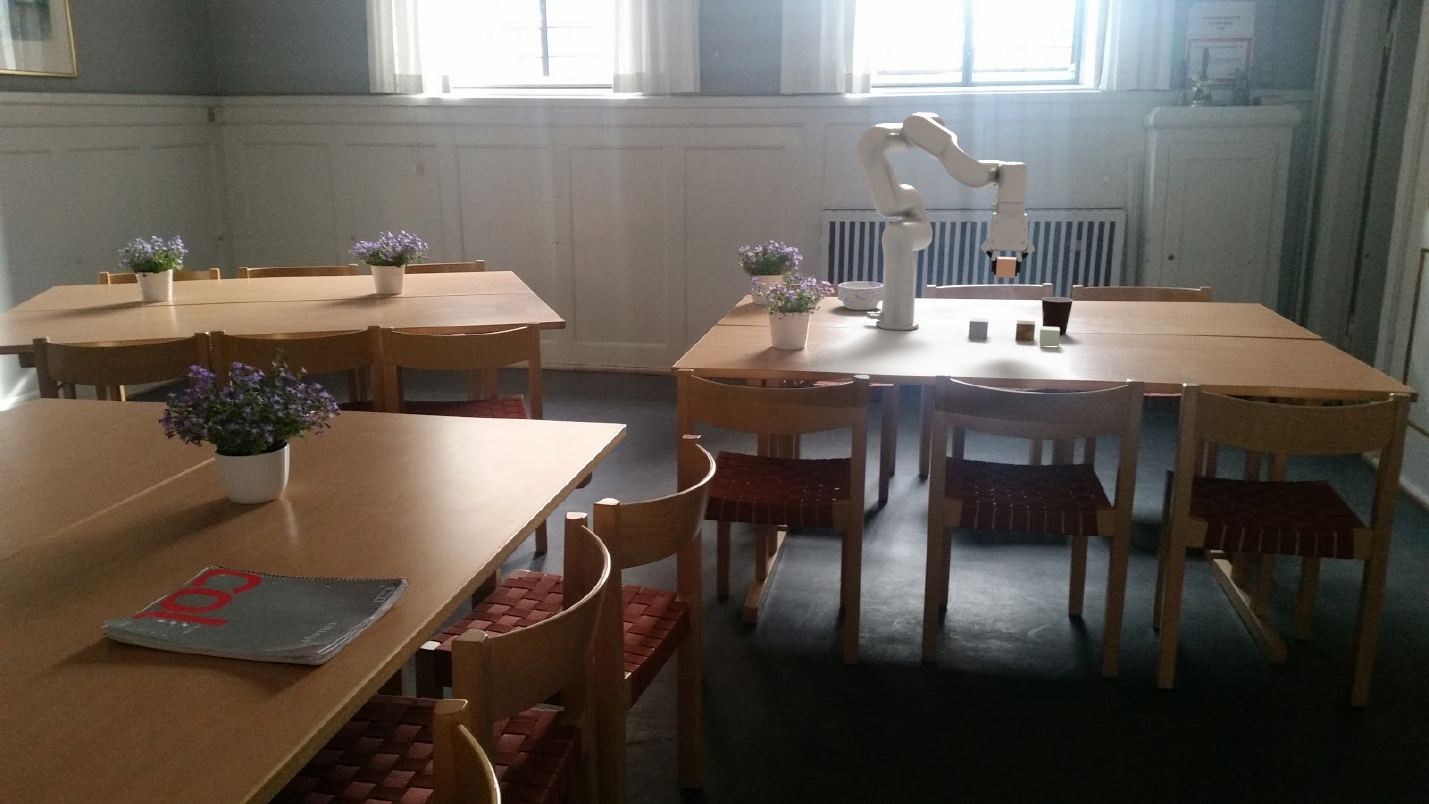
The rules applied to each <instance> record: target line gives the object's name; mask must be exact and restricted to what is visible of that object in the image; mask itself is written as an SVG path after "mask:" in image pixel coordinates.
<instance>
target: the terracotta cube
mask: <svg viewBox="0 0 1429 804" xmlns="http://www.w3.org/2000/svg"><path fill="white" fill-rule="evenodd" d="M1016 260H1017V256H1015V257H1013V256H997V268H996V275H995V278H1002V279H1003V278H1005V279H1008V278H1009V279H1015V277H1016V276H1015V267H1016Z"/></svg>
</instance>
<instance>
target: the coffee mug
mask: <svg viewBox="0 0 1429 804" xmlns="http://www.w3.org/2000/svg"><path fill="white" fill-rule="evenodd" d="M1073 301H1074V300H1073V299H1071V298H1070V297H1069V298H1068V297H1064V296H1063V297H1062V296H1061V297H1060V296H1045V297H1042V298H1041V308H1042V309H1041V310H1042V311H1041V314H1042V326H1046V327H1059V328H1060V335H1059V336H1064V335H1063V334H1065V335H1066V334H1067V330H1068V325H1069V321H1070V316H1071V311H1072V305H1073Z"/></svg>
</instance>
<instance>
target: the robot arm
mask: <svg viewBox="0 0 1429 804" xmlns="http://www.w3.org/2000/svg"><path fill="white" fill-rule="evenodd" d="M959 146H960V138H959V136H958V135H957V134H955V133H954V132H952V131H950V130H949V129H948V128H946V124H945V121H944V119H943V118H942V117H941V116H939V114H936V113H933V112H917V113H916V112H915V113H912V114H910V115H909V116H907V117H905V119H904V120H903V122H900V123H877V124H874V125H871V126H869V127H867V128H866V129H864V131H863V132H862V133H861V135H860V137H859V140H858V142H857V148H856V155H857V160H858V163H859V166H860V168H861V170H862V172H863V174H864V177H865V181H866V183H867V187H868V190H869V192H870V195H871V197H872V202H873V204H874V207H875V210H876V212H877V213H878V215H879V216H880V217H881V218H884V219H898V220H896V221H893V222H891V223H889V224H888V225H887V226H886V227H885V228H884V230H883V232H882V235H881V245H882V251H883V280H882V284H883V300H882V305H881V310H880V311H877V312H874V311H867V312H866V318H867V319H871V320H877V321H875V323H876V324H875V325H876V327H877V328H880V329H883V330H891V331H911V330H916V329H918V328H919V322H917V321H915V317H914V316H915V301H916V300H915V297H916V279H917V278H916V277H917V262H916V258H915V254H914V252H916V251H921V250H924V249H926V248H928V246H929V245H931V243H932V240H933V228H932V224H931V222H930V218H929V216H928V213H927V210H926V207H925V204H924V201H923V199H922V196H921V194H920V192H918V190H917V188H915V187H913V186H912V185H909V184H900V183H899V180H898V179H897V176H896V172H895V170H894V168H893V166H892V164H891V163H890V162H889V160H888V159H887V157H886V154H900V153H905V152H908V151H912V150H915V149H919V150H920V151H923V153H925V154H927V155H929V156H930V157H931V158H933V159H935V160H936V161H937V162H938V163H939V164H940V166H941V167H942V169H943V170H944V171H945V172H946V173H947V174H948V175H949V176H950V177H952V178H953V179H954V180H956V181H957V182H959V183H960V184H962V185H964V186H965V187H967V188H969V189H972V190H981V189H982V190H983V189H992V188H997V194H996V202H995V203H991V204H990V209H993V210H995V212H994V213H992V217H991V221H990V227H989V236H988V238H986V240H985V241H984V242H982V244H981V245H980V247H979V248H980V250H981V251H983V253H985V255H987V257H989V258H990V259H991V272H992V273H993V276H996V268H997V257H998V254H999V252H1015V254H1016V267H1015V277H1018V274H1021V266H1022V261H1023V260H1024V259H1025V258H1027V257H1028V256H1029V255H1031V254H1032V253H1033V252H1035V251H1036V248H1035V246H1034V244H1033V243H1032V242H1031V241H1030V239H1029V237H1028V236H1029V234H1028V233H1029V219H1028V214H1027V213H1025V210H1026V209H1025V208H1026V197H1027V186H1028V175H1029V174H1028V173H1029V167H1028V164H1027V163H1025V162H1019V161H1018V162H1017V161H1008V162H1006V161H1001V160H995V159H994V160H993V159H991V160H989V159H987V160H977V159H975V158H974V157H972V156H970V155H969V154H967V153H966V152H965V151H963V149H961V148H960V147H959ZM1027 248H1028V249H1027ZM1026 249H1027V250H1026ZM991 250H993V252H992V251H991ZM1025 250H1026V251H1025ZM1023 251H1024V252H1023ZM1022 252H1023V253H1022Z"/></svg>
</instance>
